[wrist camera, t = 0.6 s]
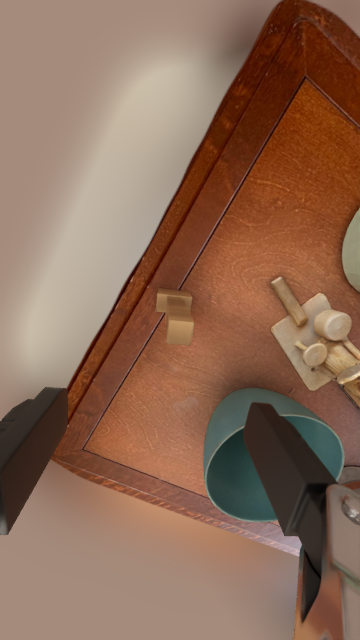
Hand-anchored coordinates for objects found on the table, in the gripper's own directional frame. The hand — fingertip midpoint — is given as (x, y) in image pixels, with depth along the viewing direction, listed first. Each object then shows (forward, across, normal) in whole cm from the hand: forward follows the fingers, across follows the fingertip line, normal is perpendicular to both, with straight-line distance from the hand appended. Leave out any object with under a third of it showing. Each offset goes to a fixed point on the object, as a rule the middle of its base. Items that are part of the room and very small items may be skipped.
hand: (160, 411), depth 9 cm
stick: (+24, -1, -1) cm, 24 cm away
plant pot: (+24, -16, +18) cm, 34 cm away
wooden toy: (+24, -24, +2) cm, 34 cm away
